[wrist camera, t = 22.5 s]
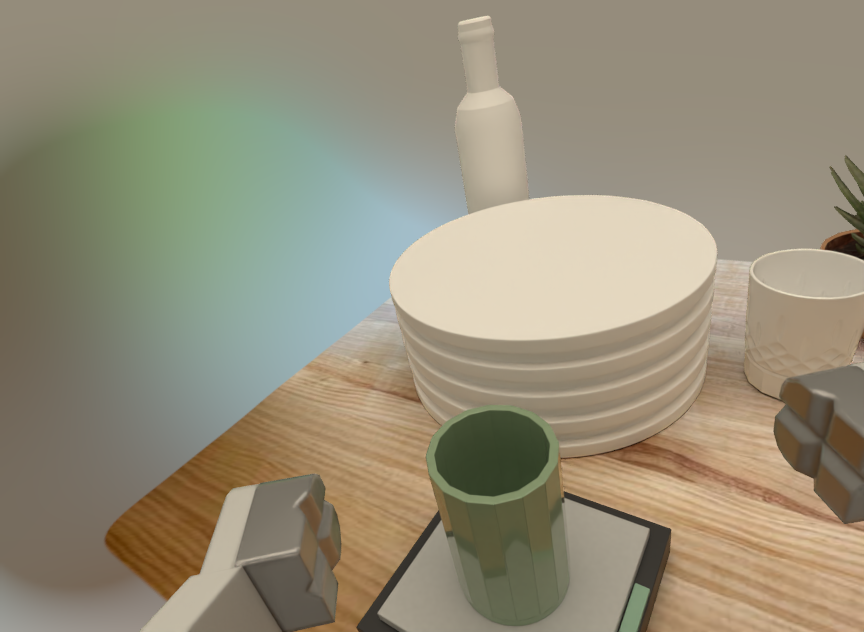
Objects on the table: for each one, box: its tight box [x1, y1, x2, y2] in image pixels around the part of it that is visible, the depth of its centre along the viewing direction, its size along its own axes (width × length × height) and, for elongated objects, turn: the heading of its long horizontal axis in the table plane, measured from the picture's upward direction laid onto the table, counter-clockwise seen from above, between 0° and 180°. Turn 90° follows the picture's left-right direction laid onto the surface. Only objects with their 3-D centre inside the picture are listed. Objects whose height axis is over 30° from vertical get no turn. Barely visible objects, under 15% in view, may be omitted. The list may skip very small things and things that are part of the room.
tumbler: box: [426, 405, 570, 626], centre depth 28 cm, size 6×6×10 cm
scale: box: [357, 492, 671, 632], centre depth 31 cm, size 14×14×3 cm
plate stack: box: [389, 195, 717, 458], centre depth 50 cm, size 28×28×12 cm
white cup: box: [744, 249, 864, 400], centre depth 41 cm, size 8×8×10 cm
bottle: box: [455, 16, 529, 214], centre depth 62 cm, size 8×8×30 cm
